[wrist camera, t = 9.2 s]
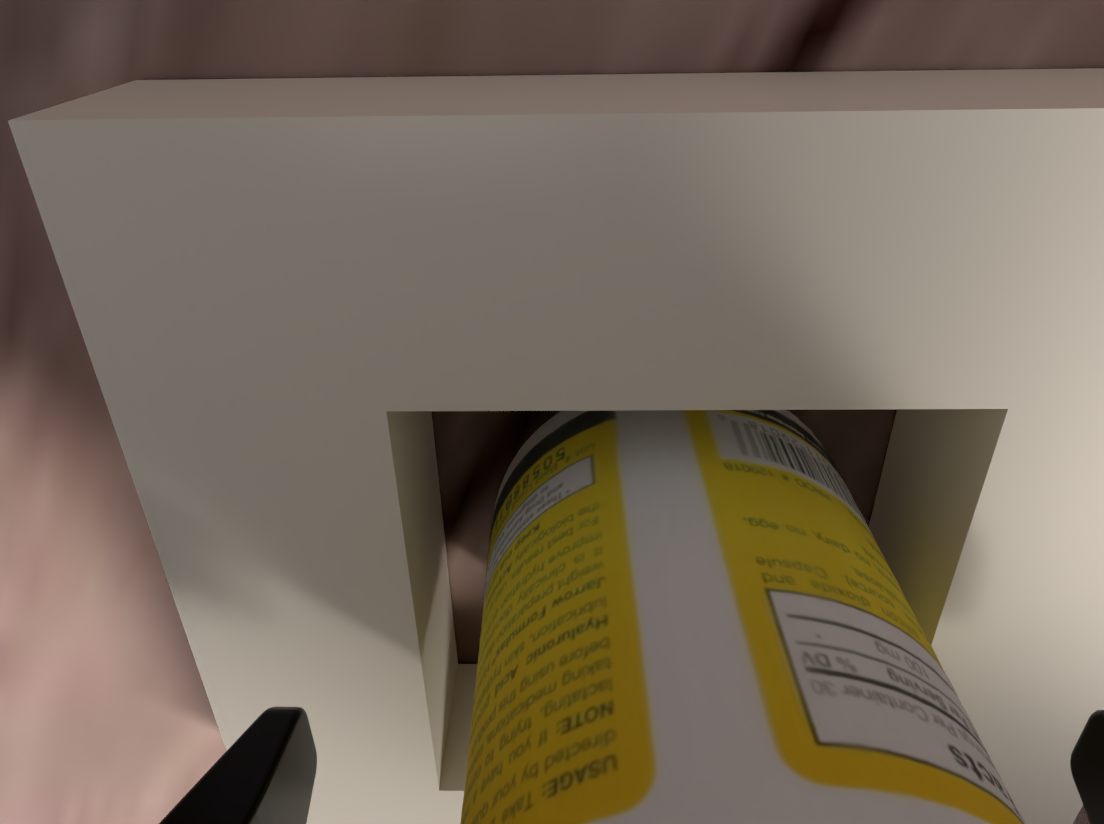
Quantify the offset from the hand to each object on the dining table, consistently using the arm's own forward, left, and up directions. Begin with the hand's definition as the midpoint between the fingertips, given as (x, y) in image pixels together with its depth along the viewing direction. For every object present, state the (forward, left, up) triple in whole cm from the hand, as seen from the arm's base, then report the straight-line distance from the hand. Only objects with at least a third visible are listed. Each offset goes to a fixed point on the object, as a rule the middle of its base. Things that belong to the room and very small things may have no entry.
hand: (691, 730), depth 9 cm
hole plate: (0, 0, -4) cm, 4 cm away
